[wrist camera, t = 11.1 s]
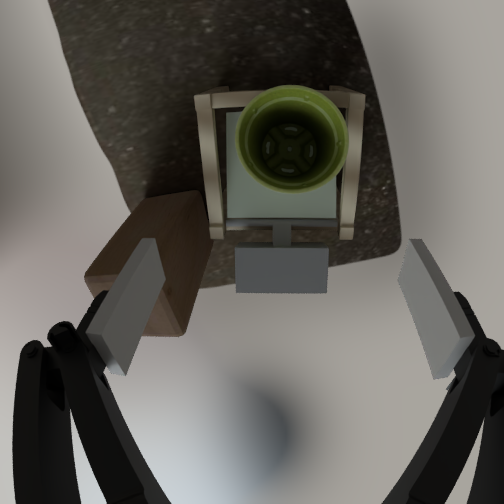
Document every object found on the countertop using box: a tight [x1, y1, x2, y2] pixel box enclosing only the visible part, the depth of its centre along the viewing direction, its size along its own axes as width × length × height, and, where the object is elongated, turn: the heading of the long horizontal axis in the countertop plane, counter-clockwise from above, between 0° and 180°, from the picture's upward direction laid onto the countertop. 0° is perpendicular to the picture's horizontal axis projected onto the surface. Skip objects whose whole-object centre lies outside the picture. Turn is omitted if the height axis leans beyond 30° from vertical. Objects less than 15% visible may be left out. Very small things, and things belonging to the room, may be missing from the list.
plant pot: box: [235, 85, 349, 194], centre depth 28 cm, size 9×9×9 cm
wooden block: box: [84, 190, 214, 337], centre depth 39 cm, size 10×10×20 cm
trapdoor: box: [226, 112, 338, 293], centre depth 34 cm, size 20×12×4 cm, turn 3°
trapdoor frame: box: [194, 85, 365, 240], centre depth 35 cm, size 16×16×12 cm
